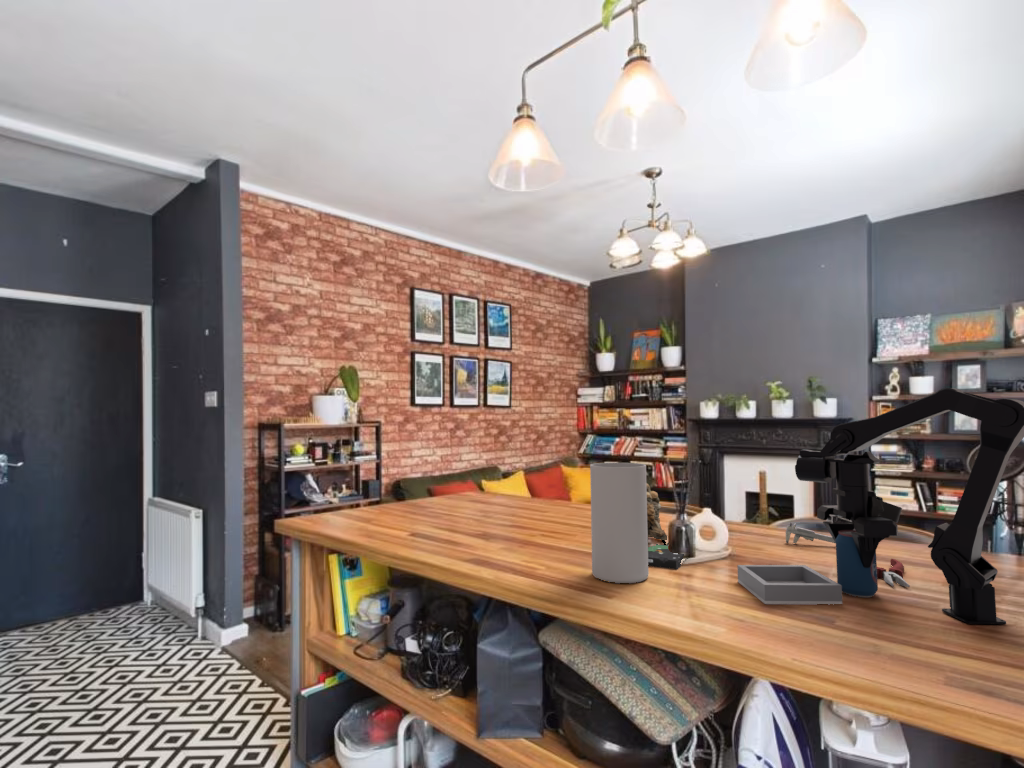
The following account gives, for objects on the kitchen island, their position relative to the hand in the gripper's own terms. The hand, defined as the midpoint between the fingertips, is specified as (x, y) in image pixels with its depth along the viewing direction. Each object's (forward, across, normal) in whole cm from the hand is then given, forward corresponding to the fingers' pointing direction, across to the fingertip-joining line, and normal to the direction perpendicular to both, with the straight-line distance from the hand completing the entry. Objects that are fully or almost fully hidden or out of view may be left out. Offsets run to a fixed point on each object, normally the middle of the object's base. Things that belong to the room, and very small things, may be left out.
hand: (856, 562), depth 113 cm
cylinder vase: (+6, +11, +46) cm, 48 cm away
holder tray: (+6, 0, +14) cm, 15 cm away
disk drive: (+7, +26, +33) cm, 42 cm away
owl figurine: (+6, +46, +33) cm, 57 cm away
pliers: (+7, +14, -12) cm, 19 cm away
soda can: (+6, 0, 0) cm, 6 cm away
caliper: (+6, +41, -15) cm, 44 cm away
